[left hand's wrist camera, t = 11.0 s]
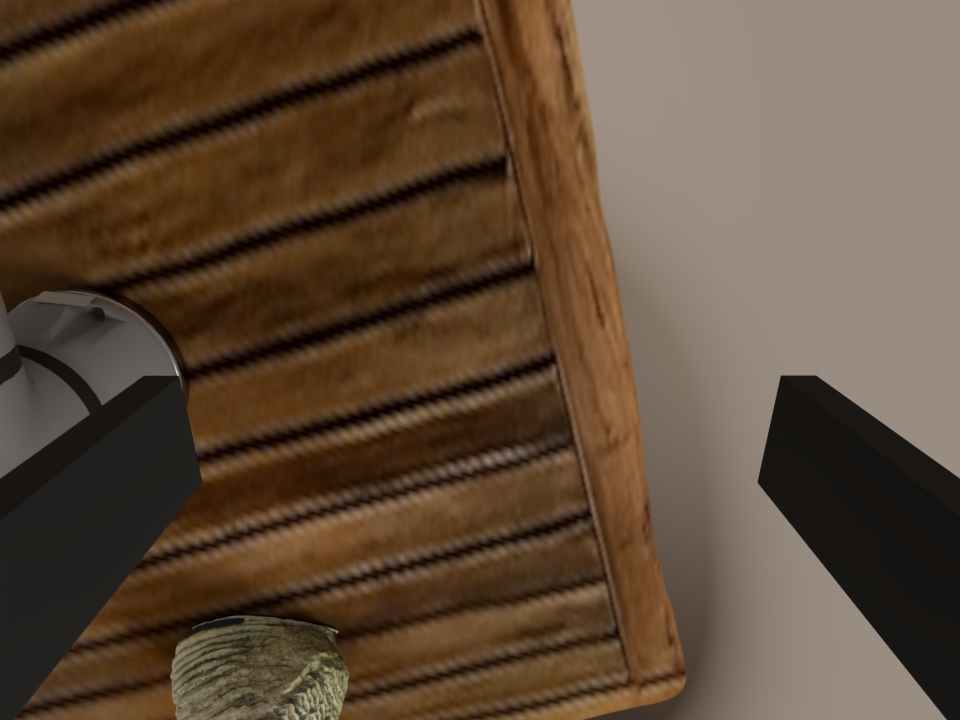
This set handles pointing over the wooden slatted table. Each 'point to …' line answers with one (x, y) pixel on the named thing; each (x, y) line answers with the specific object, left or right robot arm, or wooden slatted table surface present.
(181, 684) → the fossil
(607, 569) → the wooden slatted table surface
